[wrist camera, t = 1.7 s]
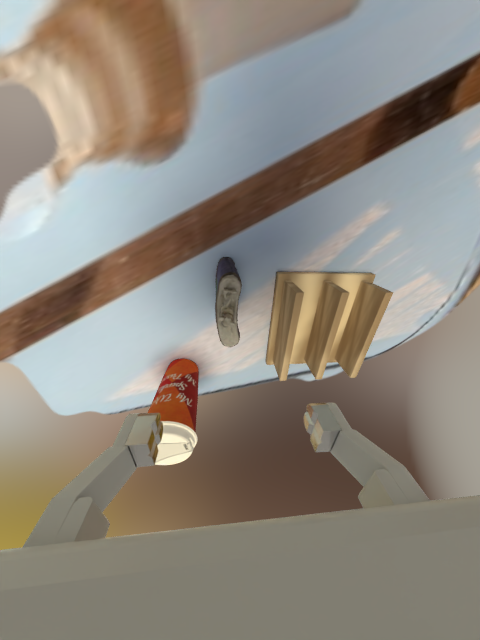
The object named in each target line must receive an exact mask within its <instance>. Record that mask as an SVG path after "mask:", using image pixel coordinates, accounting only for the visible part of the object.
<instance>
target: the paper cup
mask: <svg viewBox="0 0 480 640" xmlns="http://www.w3.org/2000/svg"><path fill="white" fill-rule="evenodd" d="M198 375H199V372H198V367H197V365H196V364H195V363H194V362H193V361H191V360H188V359H177V360H174V361H173V362H171V363H170V365H169V366H168V368H167V370H166V372H165V375H164V377H163V379H162V381H161V384H160V386H159V388H158V390H157V393H156V395H155V397H154V400H153V402H152V404H151V406H150V409H149V411H148V413H160V415H161V419H160V421H161V422H162V423H163V435H162V439H161V442H160V443H159V444H158V445H157V447H158V455H157V458H156V462H155V464H157V465H171V464H176V463H179V462H182V461H184V460H186V459H187V458H188V457H189V456H190V455H191V453H192V451H193V448H194V447H195V445H196V443H197V435H196V433H195V430H196V429H195V428H196V414H197V401H198V400H197V399H198Z"/></svg>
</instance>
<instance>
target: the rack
mask: <svg viewBox="0 0 480 640" xmlns="http://www.w3.org/2000/svg"><path fill="white" fill-rule="evenodd" d="M374 278H375V274H372V273H327V272H277V275H276V283H275V291H274V299H273V307H272V314H271V322H270V330H269V338H268V346H267V354H266V364H267V365H273V364H274V366H275V368H276V371H277V374H278V377H279V379H280V381H286V379H287V374H288V369H289V364H300V363H307V365H308V367H309V369H310V370H311V372H312V374H313V375H314V377H315V379H322V376H323V373H324V370H325V367H326V364H327V363H328V362H338V363H339V364H340V366H341V367H342V368H343V369H344V371H345V372H346V373H347V374H348V376H349V377H350V378H355V377H356V376H357V374H358V371H359V369H360V367H361V365H362V362H363V360H364V358H365V355H366V353H367V351H368V349H369V346H370V344H371V342H372V340H373V337H374V335H375V333H376V330H377V328H378V326H379V324H380V321H381V319H382V317H383V315H384V312H385V310H386V308H387V305H388V303H389V301H390V299H391V296H392V294H393V292H391V291H388V290H386V289H384V288H381V287H379V286H377V285H375V284H372V283H373V281H374Z"/></svg>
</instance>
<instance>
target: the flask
mask: <svg viewBox="0 0 480 640" xmlns="http://www.w3.org/2000/svg"><path fill="white" fill-rule="evenodd" d="M241 287H242V284H241V280H240V277H239V274H238V272H237V269H236V267H235V263H234V261H233V260H232V259H231V258H228V257H223V258H221V259H220V260H219V262H218V266H217V273H216V305H215V311H216V323H217V329H218V334H219V338H220V341H221V342H222V344H223V345H224V346H227V347H233V346H235V345H236V344H238V342H239V338H240V333H239V329H238V324H237V321H238V320H237V311H238V300H239V296H240V293H241Z"/></svg>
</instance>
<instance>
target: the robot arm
mask: <svg viewBox="0 0 480 640" xmlns="http://www.w3.org/2000/svg"><path fill="white" fill-rule="evenodd" d="M306 409H307V412H306V413H305V414H304V424H305V428H306V430H307V432H308V433H309V434H310V435H311V439H310V440H311V443H312V445H313V447H314V450H315V452H329V451H331V453H332V454H333V455H334V456H335V457H336V458H337V460H338V461H339V462H341V464H342V465H343V466H344V467H345V468H346V469H347V470H348V471H349V472H350V473H351V474H352V475H353V476H354V477H355V478H356V479H357V480H358V481H359V482H360V483H361V484H362V486H363V487H364V488H363V489H362V491H361V492H360V494H359V496H358V498H359V500H360V502H361V504H362V506H363V509H355V510H346V511H338V512H329V513H319V514H311V515H302V516H294V517H284V518H277V519H268V520H258V521H249V522H241V523H232V524H223V525H215V526H206V527H197V528H188V529H181V530H171V531H163V532H154V533H145V534H136V535H128V536H119V537H110V538H105V536H106V533H107V531H108V528H109V525H110V524H109V521H108V520H107V518H106V517H105V516H104V514H103V513H102V512H103V511H104V509H105V508H106V507H107V506H108V504H109V503H110V502H111V501H112V499H113V498H114V497H115V495H116V494H117V493H118V492H119V490H120V489H121V487H122V486H123V485H124V484H125V483H126V481H127V480H128V479H129V478H130V476H131V475H132V473H133V472H134V471H135V470H136V467H143V466H153V465H155V462H156V458H157V455H158V447H157V445H158V444H159V443H160V442H161V439H162V435H163V423H162V422H161V421H160V419H161V415H160V413H143V414H142V413H140V414H129V415H128V416H127V417H126V419H125V421H124V423H123V425H122V427H121V429H120V431H119V434H118V436H117V438H116V440H115V442H114V444H113V446H112V447H109V448H108V449H106V451H104V452H103V453H102V454H101V455H100V456H99V457H98V458H97V459H95V460H94V461H93V462H92V463H91V464H90V465H89V466H88V467H87V468H86V469H84V470H83V471H82V472H81V473H80V474H79V475H78V476H77V477H76V478H75V479H73V480H72V481H71V482H70V483H69V484H68V485H67V486H66V487H65V488H63V489H62V490H61V491H60V492H59V493H58V494H57V495H56V496H55V497H54V498H52V500H51V501H50V503H49V505H48V506H47V508H46V510H45V511H44V513H43V515H42V516H41V518H40V520H39V521H38V523H37V524H36V526H35V528H34V529H33V531H32V533H31V534H30V536H29V538H28V539H27V541H26V542H25V544H24V546H23V547H22V548H15V549H6V550H0V640H480V495H477V496H468V497H459V498H450V499H442V500H433V501H430V500H429V499H428V497H427V496H426V495H425V493H424V492H423V491H422V489H421V488H420V487H419V485H418V484H417V483H416V481H415V480H414V479H413V477H412V476H411V474H410V473H409V472H408V471H407V469H406V468H405V466H403V465H402V464H401V463H399V462H398V461H396V460H395V459H394V458H392V457H391V456H390V455H388V454H387V453H386V452H384V451H383V450H382V449H380V448H379V447H377V446H376V445H375V444H374V443H372V442H371V441H369V440H368V439H367V438H365V437H364V436H363V435H361V434H360V433H359V432H357V431H356V430H352V429H351V427H350V426H349V424H348V422H347V421H346V419H345V418H344V416H343V414H342V413H341V411H340V410H339V408H338V407H337V405H336V404H335V403H316V404H308V405H307V407H306Z"/></svg>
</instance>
